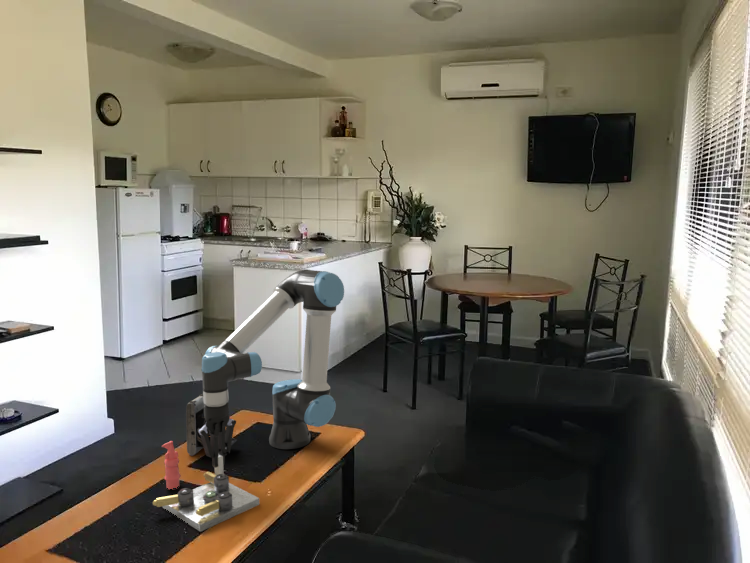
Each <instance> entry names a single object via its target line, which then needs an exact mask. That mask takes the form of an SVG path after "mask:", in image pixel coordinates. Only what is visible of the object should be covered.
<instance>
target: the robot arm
mask: <svg viewBox="0 0 750 563" xmlns="http://www.w3.org/2000/svg"><path fill="white" fill-rule="evenodd" d="M272 292H273V293H272V294H271V295H270V296H269V297H268V298H267V299H266V300H265V301H264V302H263V303H262V304H261V305H260V306H259V307H257V309H255V310H254V311H253V313H251V315H249V317H248V318H247V319H245V320H244V321H243V322H242V323H241V324H240V325H239V326H238V327H237V328H236V329H235V330H234V331H233V332H232V333H231V334H230V335H229V336H227V338H226V339H225V340H224V341H222V342H221V343H220V344H219V345H212V346H210V347H208V349H207V350H206V351H205V353H204V355H202V358H201V376H202V395H203V399H204V417H205V421H204V426H203V427H202V428H201V429H198V430H197V432H198V433H199V435H200V436H201V440H202V443H203V446H204V448H203V449H204V453H205V456H206V457H208V458H211V460H212V461H211V464H212V467H213V468H214V475H216V476H217V475H219V474H225V473H224V471H225V470H224V465H225V464H226V456H227V455H228V453H229V451H230V452H231V449H232V448H231V447H232V445H231V442H232V438H233V436H234V429H235V426H236V424H237V420H235V419H234V418H230V407H229V406H230V405H229V400H230V399H229V398H230V397H229V382H233V381H236V380H237V381H238V380H241V379H246V378H251V377H253V376H257V375H259V374H260V373H261V372H262V369H263V363H262V362H263V361H262V359H261V356H260V355H259V354H258V353H257V352H255V351H251V352H246V351H247V350H248V349H249V348H250V347H251V346H252V345H253V344H254V343H255V342H256V341H257V340H258V339H259V338H260V337H261V336H262V335H263V334H264V333H265V332H266V331H267V330H268V329H269V328H271V326H272V325H274V323H276V321H277V320H278V319H279V318H280V317H282V315H283V314H284V313H285V312H286V311H287V310H288V309H289V310H291V309H293V308H295V307H296V306H297V305H298V304H300V303H302V302H303V304H302V309H303V311H304V312H305V313H306V320H305V321H306V322H305V338H304V348H303V349H304V350H303V365H302V366H303V367H302V379H300V378H293V379H286V380H281V381H278V382H276V383H274V384H273V385H272V392H271V393H272V394H271V397H272V413H273V414H272V418H273V424H272V428H271V431H270V434H269V438H268V441H269V445H270V446H271V447H273V448H275V449H277V450H278V449H279V450H294V449H299V448H303V447H305V446H307V445H309V443H310V442H311V433H310V430H309V428H308V426H310V427H311V426H312V427H316V428H320V427H323V426H325V425H326V424H328V423H329V422H330V420H331V419H333V417H334V414H335V412H336V408H337V404H336V400H335V399H334V397H333V396H332V395H331V386H330V385H329V383H328V382H327V380H328V366H329V354H330V353H329V351H330V340H331V336H330V335H331V326H332V325H331V324H332V315H333V314H335V313H336V312H337V307H338V306H339V305H340V304H341V302H342V301H343V299H344V296H345V286H344V283H343V281H342V279H341V278H340V276H338V275H337V274H336V273H333V272H329V271H322V270H313V269H305V268H304V269H299V270H297V271H295V272H293V273H292V274H289V276H286V278H284V279H283V280H282V281H281V282H280V283H279V284H278V285H276V286H275V287H274V288H273V290H272ZM245 352H246V353H245ZM228 414H229V415H228ZM207 429H208V431H209V435H210V441H209V437H208V435H207V433H208V432H207Z"/></svg>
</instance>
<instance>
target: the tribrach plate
mask: <svg viewBox="0 0 750 563" xmlns="http://www.w3.org/2000/svg"><path fill="white" fill-rule="evenodd" d="M192 490H193V495H194V503H193V504H191V505H189V506H179V505H178V504H172V505H167V506H162V509H164V510H165V509H166V511H167V510H168V511H169V512H168V511H167V512H168V513H170V512H171V513H172V515H173V514H174V515H173V516H175V515H176V516H177V517H176V516H175V517H176V518H178V519H179V518H180V519H179V520H181V519H182V520H183V522H184V521H185V522H184V523H185V524H187V523H188V524H187V525H189V526H190V527H192V528H193V529H195V530H197V531H198V532H204V531H205V530H208V529H210V528H211V527H214V526H216V525H218V524H220V523H222V522H225V521H227V520H229V519H231V518H234V517H235V516H237V515H240V514H242V513H244V512H247V511H249V510H250V509H251V510H252V509H253V508H256V507H257V506H259V505H260V497H258V496H256V495H254V494H252V493H249V492H248V491H246V490H244V489H242V488H240V487H238V486H236V485H234V484H232V483H230V482H229V488H228V489H227V490H225V491H215V490H214V484H213V483H211V482H208V483H205V484H202V485H200V486H198V487H195V488H193V489H192ZM221 492H229V493H231V494H232V508H230V509H228V510H218V509H217V510H215V511H213V512H210V513H208V514H206V515H203V516H200V515H197V514H196V511H197V510H198V509H199V507H201V506H203V505H206V504H208V503H210V502H213V501H215V500H216V496H217V495H218V494H219V493H221ZM171 513H170V514H171ZM182 520H181V521H182Z"/></svg>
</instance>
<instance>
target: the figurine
mask: <svg viewBox="0 0 750 563" xmlns="http://www.w3.org/2000/svg"><path fill="white" fill-rule="evenodd" d="M161 448H165V449H166V450H167V452H166V453H165V455H164V468H165V473H164V474H165V476H164V478H163V479H164V480H165V483H166V485H165V486H166V489H167V488H168V489H167V490H170V489H172V490H174V489H173V488H176V489H178V488H179V487H180V478H181V477H182V476H181V473H180V468H179V463H180V458H179V452H178V451H176V450H175V447H174V441H173V440H170V441H169V442H166V443H164V444H162V445H161ZM178 486H179V487H178ZM177 487H178V488H177Z"/></svg>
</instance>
